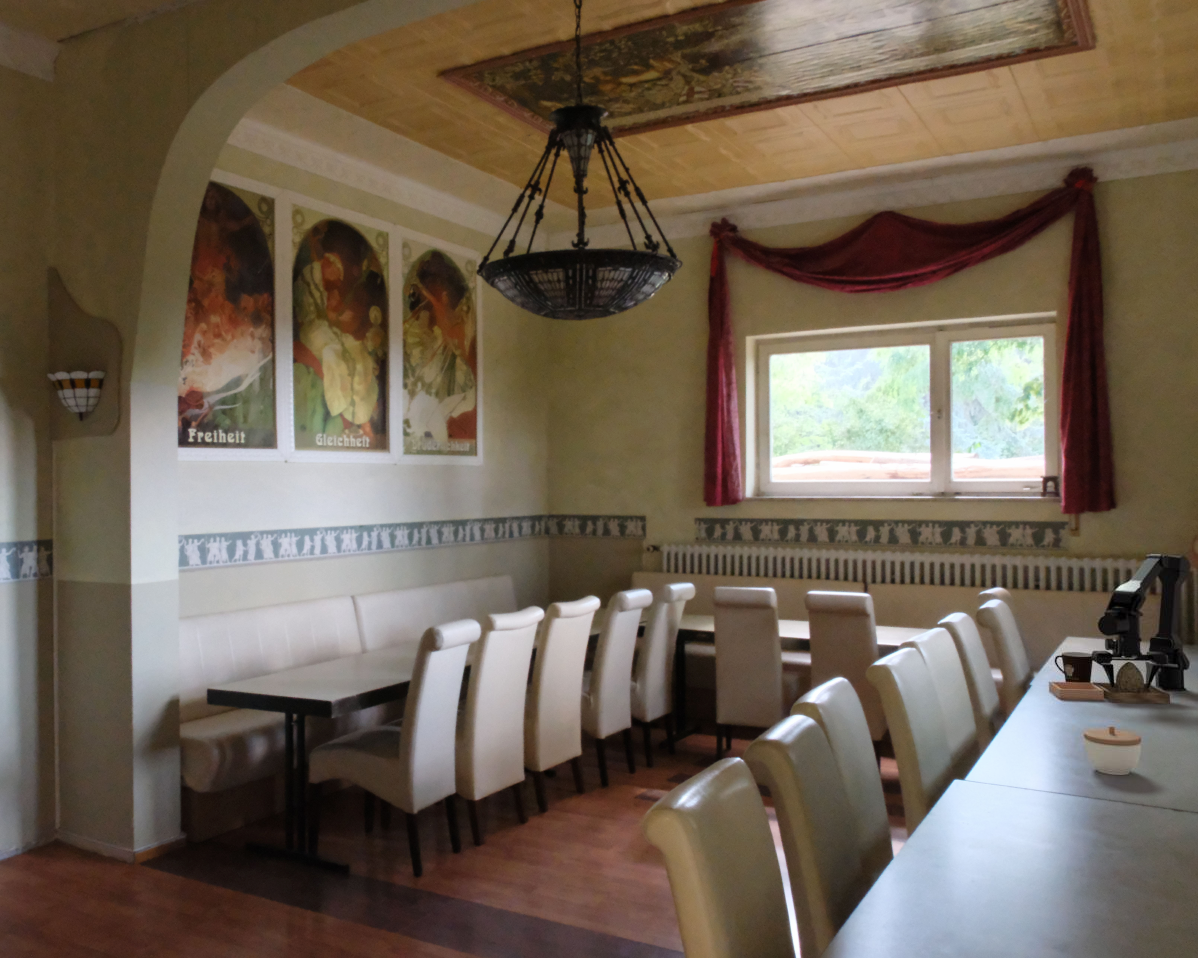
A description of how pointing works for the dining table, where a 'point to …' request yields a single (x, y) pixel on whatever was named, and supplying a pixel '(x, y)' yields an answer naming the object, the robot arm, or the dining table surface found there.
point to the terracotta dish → (1076, 690)
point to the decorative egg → (1129, 679)
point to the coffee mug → (1076, 666)
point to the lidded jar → (1112, 750)
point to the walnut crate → (1134, 694)
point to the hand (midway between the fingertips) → (1130, 687)
